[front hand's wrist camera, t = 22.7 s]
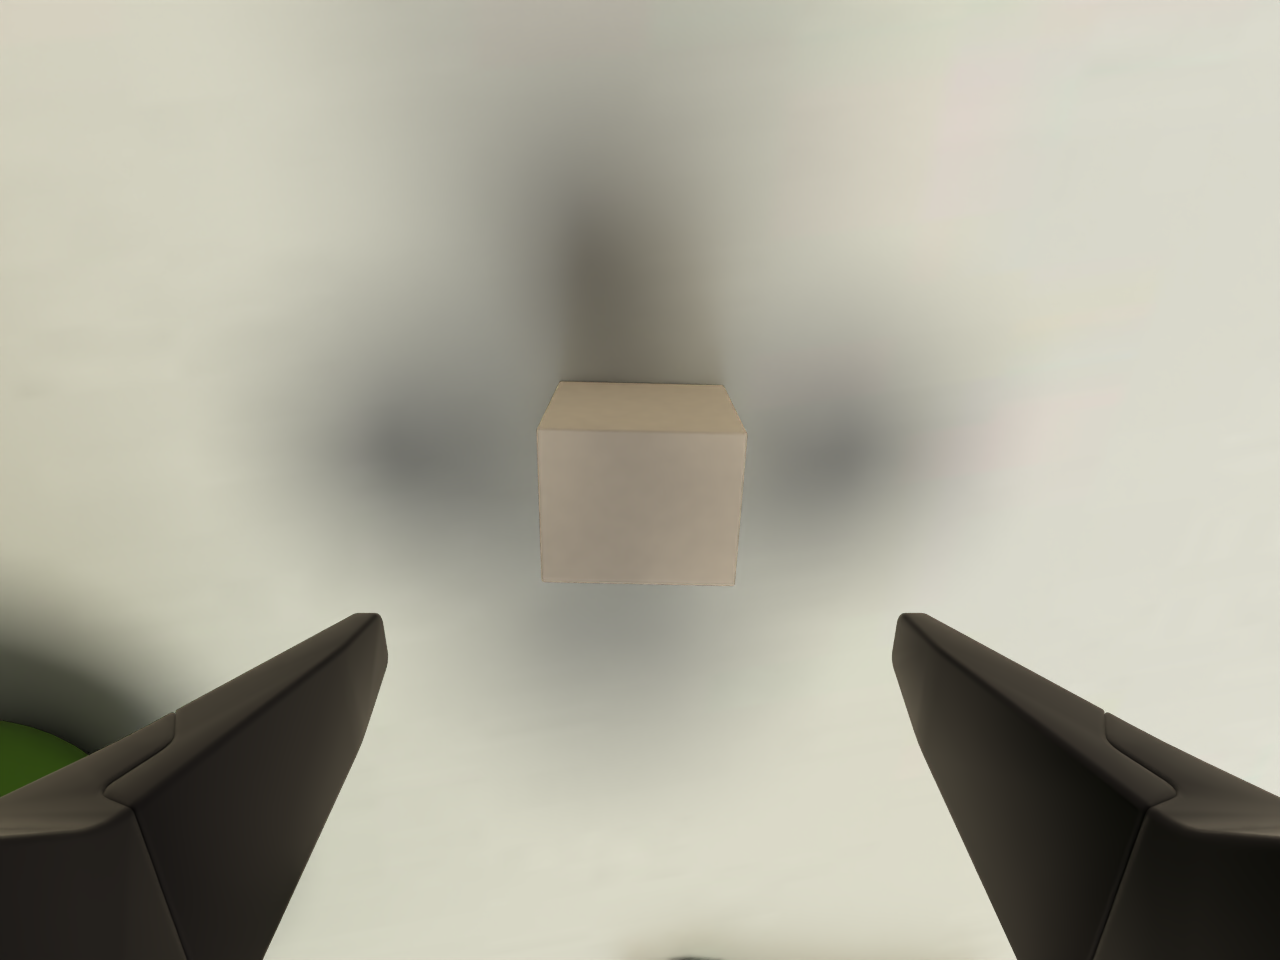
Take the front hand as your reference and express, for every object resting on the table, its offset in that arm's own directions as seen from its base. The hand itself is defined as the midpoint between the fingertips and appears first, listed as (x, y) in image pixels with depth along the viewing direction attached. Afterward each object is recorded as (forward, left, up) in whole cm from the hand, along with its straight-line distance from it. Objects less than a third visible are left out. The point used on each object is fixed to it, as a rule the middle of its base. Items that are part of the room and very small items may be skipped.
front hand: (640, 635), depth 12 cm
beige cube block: (0, 0, -10) cm, 10 cm away
